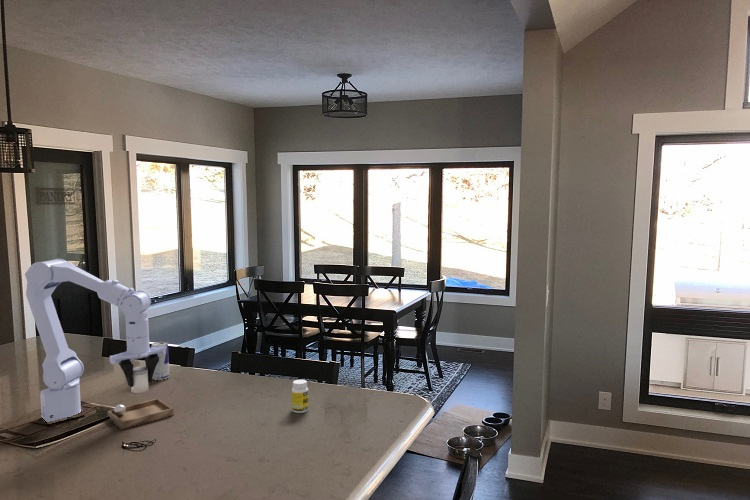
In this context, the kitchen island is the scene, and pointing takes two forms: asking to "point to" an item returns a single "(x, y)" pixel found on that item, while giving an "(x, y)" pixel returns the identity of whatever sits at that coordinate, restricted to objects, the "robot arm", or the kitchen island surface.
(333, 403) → the kitchen island surface
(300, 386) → the supplement bottle
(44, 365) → the robot arm
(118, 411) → the steel ball
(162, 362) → the energy drink
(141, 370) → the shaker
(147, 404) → the tray
